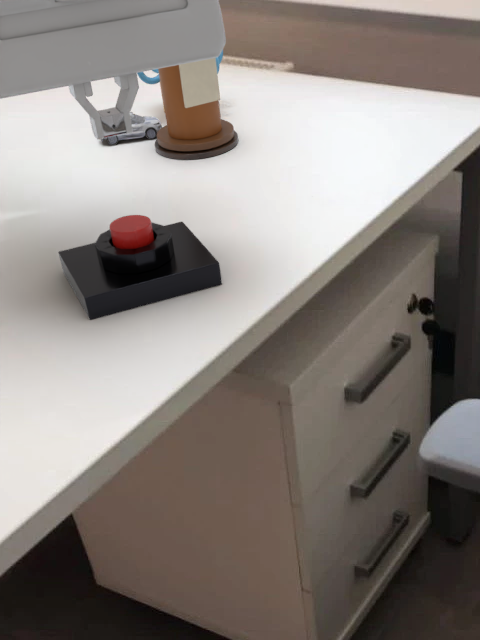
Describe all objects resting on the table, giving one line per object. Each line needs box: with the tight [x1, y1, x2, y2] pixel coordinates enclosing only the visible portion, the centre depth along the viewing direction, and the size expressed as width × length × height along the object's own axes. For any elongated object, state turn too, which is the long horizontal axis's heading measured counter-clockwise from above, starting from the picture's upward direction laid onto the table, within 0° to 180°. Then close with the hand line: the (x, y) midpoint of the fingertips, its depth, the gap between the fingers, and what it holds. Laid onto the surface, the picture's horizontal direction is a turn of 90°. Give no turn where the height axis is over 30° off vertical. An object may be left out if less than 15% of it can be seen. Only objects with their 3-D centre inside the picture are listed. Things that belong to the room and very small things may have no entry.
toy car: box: [101, 111, 164, 146], centre depth 108 cm, size 4×8×3 cm, turn 105°
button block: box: [58, 221, 223, 321], centre depth 79 cm, size 12×10×4 cm
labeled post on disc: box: [156, 58, 235, 151], centre depth 100 cm, size 9×9×19 cm
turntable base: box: [154, 130, 239, 160], centre depth 106 cm, size 10×10×1 cm
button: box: [109, 214, 154, 249], centre depth 77 cm, size 4×4×2 cm
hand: (113, 134), depth 72 cm, fingers closed
